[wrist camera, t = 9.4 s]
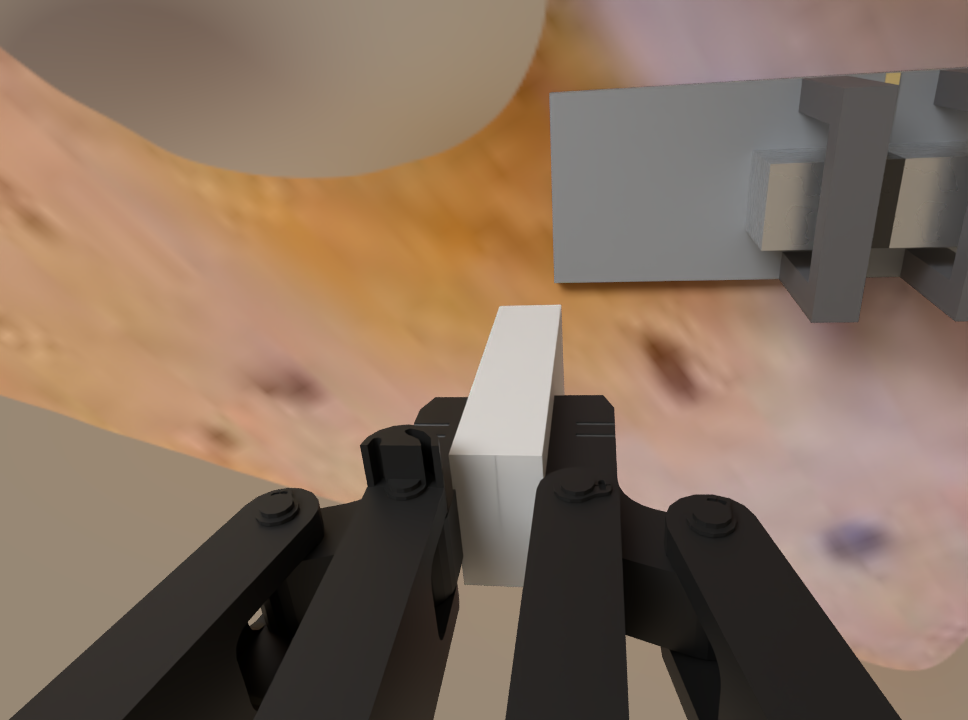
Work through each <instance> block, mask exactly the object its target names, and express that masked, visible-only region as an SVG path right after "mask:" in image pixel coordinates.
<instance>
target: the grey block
mask: <svg viewBox="0 0 968 720" xmlns="http://www.w3.org/2000/svg"><path fill="white" fill-rule="evenodd" d="M826 148H827V147H816V148H793V149H770V150H752V158H751V169H750V180H749V190H748V201H747V211H746V222H745V230H746V231H747V233H748V234H749V235H750V237H751V238H752V239H753V241H754V242H755V243H756V245H757V246H758V247H759V249H760V250H761V251H775V250H813V244H814V237H815V229H816V222H817V215H818V207H819V200H820V193H821V185H822V178H823V170H824V163H825V156H826ZM967 203H968V141H955V142H932V143H909V144H889V146H888V152H887V158H886V164H885V170H884V175H883V181H882V187H881V193H880V199H879V205H878V210H877V216H876V222H875V228H874V234H873V239H872V245H871V248H915V247H958V243H959V238H960V234H961V230H962V225H963V221H964V216H965V212H966V207H967Z"/></svg>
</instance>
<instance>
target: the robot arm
mask: <svg viewBox="0 0 968 720" xmlns="http://www.w3.org/2000/svg"><path fill="white" fill-rule="evenodd" d="M360 448H361V453H362V458H363V464H364V469H365V475H366V480H367V485H368V487H367V489H366V491H365V493H364V495H363V497H362V499H360V500H358V501H354V502H350V503H347V504H342V505H337V506H331V507H326V508H320V506H319V501H318V499H317V498H316V496H315V495H314V494H313V493H312V492H309V491H307V490H304V489H300V488H285V489H280V490H279V489H278V490H274V491H271V492H268V493H266V494H263V495H261V496H258V497H257V498H255V499H254V500H253V501H251V502H250V503H248V504H247V505H245V506H244V507H243V508H242V509H241V510H240V511H239V512H238V513H237V514H235V515H234V516H233V517H232V518H231V519H230V520H229V521H228V522H227V523H226V524H225V525H223V526H222V527H221V528H220V529H219V530H218V531H217V532H216V533H215V534H214V535H212V536H211V537H210V538H209V539H208V540H207V541H206V542H205V543H203V544H202V545H201V546H200V547H199V548H198V549H197V550H196V551H195V552H194V553H193V554H191V555H190V556H189V557H188V558H187V559H186V560H185V561H184V562H182V563H181V564H180V565H179V566H178V567H177V568H176V569H175V570H174V571H173V572H172V573H170V574H169V575H168V576H167V577H166V578H165V579H164V580H163V581H162V582H161V583H159V584H158V585H157V586H156V587H155V588H154V589H153V590H152V591H151V592H149V593H148V594H147V595H146V596H145V597H144V598H143V599H142V600H141V601H139V602H138V603H137V604H136V605H135V606H134V607H133V608H132V609H131V610H130V611H129V612H127V614H125V615H124V616H123V617H122V618H121V619H120V620H118V621H117V623H115V624H114V625H113V626H112V627H111V628H110V629H109V630H107V631H106V632H105V633H104V634H103V635H102V636H101V637H100V638H99V639H98V640H96V641H95V642H94V643H93V644H92V645H91V646H90V647H89V648H88V649H87V650H85V651H84V652H83V653H82V654H81V655H80V656H79V657H78V658H77V659H75V661H73V662H72V663H71V664H70V665H69V666H68V667H67V668H66V669H65V670H63V672H61V673H60V674H59V675H58V676H57V677H56V678H55V679H53V680H52V681H51V682H50V683H49V684H48V685H47V686H46V687H45V688H43V690H41V691H40V692H39V693H38V694H37V695H36V696H35V697H34V698H32V699H31V700H30V701H29V702H28V703H27V704H26V705H25V706H24V707H23V708H22V709H20V710H19V711H18V712H17V713H16V714H15V715H14V716H13V717H11V718H10V719H9V720H433V718H434V714H435V710H436V705H437V701H438V697H439V692H440V688H441V684H442V680H443V675H444V671H445V667H446V662H447V658H448V654H449V649H450V645H451V641H452V637H453V632H454V627H455V624H456V619H457V615H458V611H459V593H458V585H457V580H458V576H459V573H460V568H461V565H462V568H463V576H464V584H465V585H484V586H507V587H523V592H522V600H521V607H520V615H519V622H518V629H517V637H516V644H515V652H514V659H513V667H512V674H511V682H510V689H509V696H508V704H507V711H506V719H505V720H629V708H628V707H629V706H628V685H627V684H628V683H627V660H626V639H625V638H626V637H625V635H628V636H631V637H634V638H637V639H640V640H643V641H646V642H649V643H652V644H655V645H658V646H661V652H662V657H663V660H664V662H665V665H666V667H667V670H668V672H669V675H670V677H671V679H672V682H673V684H674V687H675V689H676V692H677V694H678V697H679V699H680V702H681V705H682V707H683V710H684V712H685V714H686V717H687V719H688V720H902V719H901V718H900V717H899V715H898V714H897V713H896V711H895V710H894V708H893V707H892V706H891V704H890V703H889V702H888V700H887V699H886V697H885V696H884V694H883V693H882V692H881V690H880V689H879V688H878V686H877V685H876V683H875V682H874V681H873V679H872V678H871V677H870V675H869V673H868V672H867V671H866V669H865V668H864V667H863V665H862V664H861V662H860V661H859V660H858V658H857V657H856V655H855V654H854V653H853V651H852V650H851V648H850V647H849V646H848V644H847V643H846V641H845V640H844V639H843V637H842V636H841V634H840V633H839V632H838V630H837V629H836V628H835V626H834V625H833V623H832V622H831V621H830V619H829V618H828V616H827V615H826V614H825V612H824V611H823V609H822V608H821V607H820V605H819V604H818V602H817V601H816V600H815V598H814V597H813V595H812V594H811V593H810V591H809V590H808V588H807V587H806V586H805V584H804V583H803V582H802V580H801V579H800V577H799V576H798V575H797V573H796V572H795V570H794V569H793V568H792V566H791V565H790V563H789V562H788V561H787V559H786V558H785V556H784V555H783V554H782V552H781V551H780V549H779V548H778V547H777V545H776V544H775V543H774V541H773V540H772V538H771V537H770V536H769V534H768V533H767V531H766V530H765V529H764V527H763V526H762V524H761V523H760V522H759V520H758V519H757V517H756V516H755V515H754V514H753V513H752V512H751V511H750V510H749V509H748V508H746V507H745V506H744V505H742V504H740V503H738V502H736V501H734V500H732V499H730V498H725V497H721V496H716V495H692V496H688V497H684V498H680V499H679V500H677V501H676V502H674V503H673V504H672V505H670V506H669V508H668V511H667V512H664V511H660V510H656V509H652V508H649V507H646V506H643V505H641V504H639V503H637V502H635V501H633V500H631V499H630V498H629V497H628V496H627V495H625V494H624V493H623V491H622V490H621V488H620V487H619V484H618V480H617V461H616V439H615V417H614V407H613V406H612V405H611V404H610V403H609V401H608V400H607V399H606V398H605V397H604V396H603V395H564V370H563V343H562V315H561V305H530V306H500V307H499V310H498V313H497V315H496V318H495V321H494V324H493V327H492V330H491V333H490V336H489V339H488V342H487V344H486V347H485V350H484V353H483V356H482V359H481V362H480V365H479V368H478V371H477V374H476V376H475V379H474V382H473V385H472V388H471V391H470V394H469V397H435V398H434V399H433V400H432V401H430V402H429V403H428V404H427V405H425V406H424V407H423V408H422V409H420V411H419V414H418V416H417V418H416V420H415V422H414V425H399V426H392V427H389V428H385V429H382V430H379V431H377V432H375V433H374V434H372V435H370V436H368V437H367V438H366V439H365V440H364V441H363V442H362V444H361V445H360ZM260 607H261V610H262V615H261V616H260V617H259V618H258V620H257V621H256V622H254V623H253V624H252V625H251V626H249V625H248V621H249V620H250V619H251V617H252V616H253V615H254V614H255V613H256V612H257V611H258V610H259V608H260Z"/></svg>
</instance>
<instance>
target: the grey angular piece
mask: <svg viewBox="0 0 968 720" xmlns="http://www.w3.org/2000/svg"><path fill="white" fill-rule="evenodd" d="M550 132H551V170H552V208H553V247H554V283H581V282H637V281H693V280H749V279H779V280H780V281H781V282H782V284H783V285H784V287H785V288H786V289H787V291H788V292H789V293H790V295H791V296H792V297H793V299H794V300H795V301H796V303H797V304H798V305H799V307H800V308H801V309H802V311H803V312H804V314H805V315H806V316H807V318H808V319H809V320H810V322H811V323H824V322H858V321H859V315H860V309H861V303H862V297H863V292H864V286H865V280H866V277H901V278H902V279H903V280H905V281H906V282H907V283H908V284H909V285H911V286H912V287H913V288H914V289H916V290H917V291H918V292H919V293H921V294H922V295H923V296H924V297H926V298H927V299H928V300H929V301H931V302H932V303H933V304H934V305H935V306H937V307H938V308H939V309H940V310H942V311H943V312H944V313H945V314H947V315H948V316H949V317H950V318H952V319H953V320H954V321H968V203H967V207H966V212H965V216H964V221H963V225H962V230H961V234H960V238H959V243H958V247H915V248H871V245H872V239H873V234H874V228H875V222H876V216H877V210H878V205H879V199H880V193H881V187H882V181H883V175H884V170H885V164H886V158H887V152H888V146H889V144H909V143H932V142H955V141H968V67H960V68H943V69H927V70H911V71H894V72H878V73H862V74H845V75H829V76H813V77H796V78H780V79H764V80H747V81H731V82H715V83H698V84H682V85H666V86H649V87H633V88H616V89H600V90H584V91H567V92H551V93H550ZM816 147H827V148H826V156H825V163H824V170H823V178H822V185H821V193H820V200H819V207H818V215H817V222H816V229H815V237H814V244H813V250H775V251H761V250H760V249H759V247H758V246H757V245H756V243H755V242H754V241H753V239H752V238H751V237H750V235H749V234H748V233H747V231H746V230H745V222H746V211H747V201H748V190H749V180H750V169H751V158H752V150H770V149H793V148H816Z"/></svg>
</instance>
